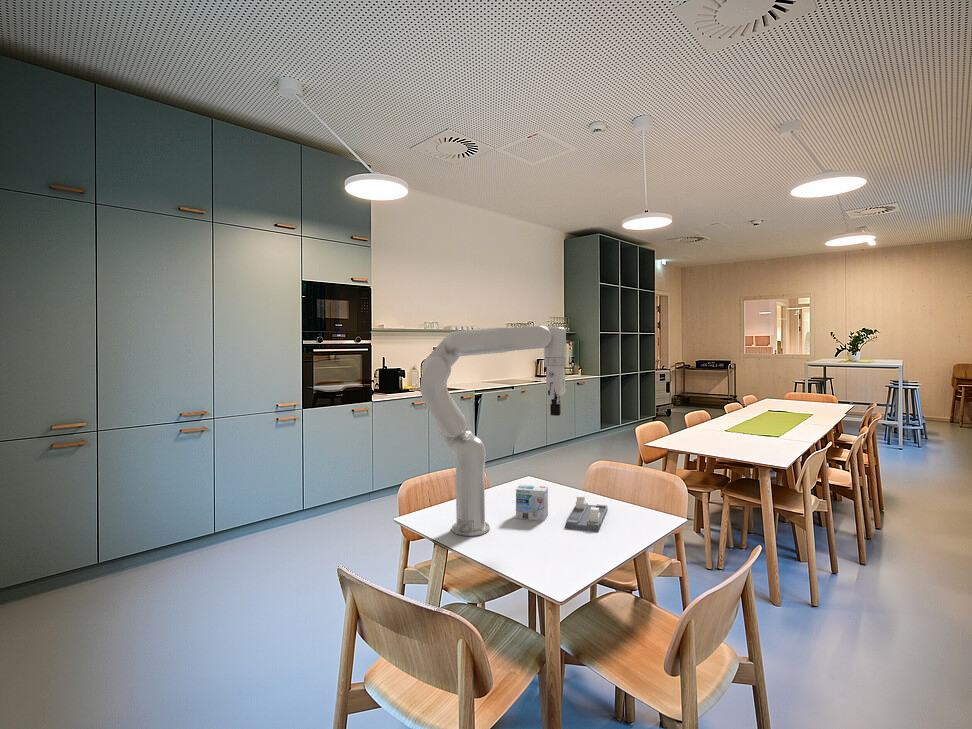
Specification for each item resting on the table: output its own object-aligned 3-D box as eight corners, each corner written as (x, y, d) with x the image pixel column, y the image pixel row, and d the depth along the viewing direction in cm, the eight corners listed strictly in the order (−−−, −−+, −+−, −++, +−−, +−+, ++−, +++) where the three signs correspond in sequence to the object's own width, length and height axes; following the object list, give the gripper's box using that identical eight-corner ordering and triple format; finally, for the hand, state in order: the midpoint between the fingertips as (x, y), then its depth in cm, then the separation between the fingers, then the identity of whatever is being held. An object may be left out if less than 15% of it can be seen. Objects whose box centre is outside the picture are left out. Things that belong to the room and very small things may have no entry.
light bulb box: (515, 518, 178) (515, 488, 178) (519, 513, 184) (519, 483, 184) (545, 521, 175) (545, 490, 175) (548, 515, 181) (548, 485, 181)
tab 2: (598, 522, 167) (598, 510, 167) (589, 521, 169) (589, 509, 168) (600, 518, 171) (600, 507, 171) (591, 517, 172) (591, 506, 172)
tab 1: (584, 509, 182) (583, 498, 182) (575, 508, 183) (575, 497, 183) (585, 505, 186) (585, 495, 186) (577, 505, 187) (577, 494, 187)
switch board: (599, 531, 164) (599, 525, 164) (565, 527, 168) (565, 521, 168) (607, 510, 186) (607, 504, 186) (577, 507, 190) (577, 502, 190)
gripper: (561, 363, 166) (561, 418, 166) (570, 362, 180) (570, 413, 180) (539, 363, 168) (539, 417, 169) (549, 362, 182) (549, 412, 183)
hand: (555, 415), depth 175 cm, fingers closed
